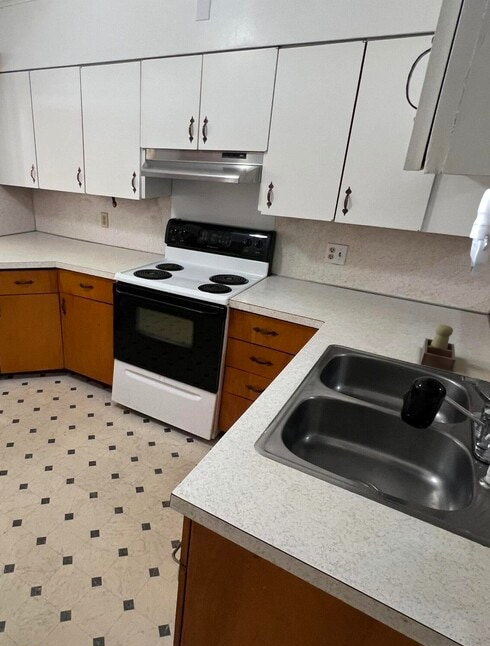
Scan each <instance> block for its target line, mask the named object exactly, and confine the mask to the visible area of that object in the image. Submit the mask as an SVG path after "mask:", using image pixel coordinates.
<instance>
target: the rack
mask: <svg viewBox="0 0 490 646" xmlns="http://www.w3.org/2000/svg"><path fill="white" fill-rule="evenodd" d="M432 341H433V339H431V338H424V342H423V345H422V348H421V357H420V366H425V367H429V368H433V369H437V370H442V371H446V372H450V373H452V372H453V369H454V366H455V363H456V350H455V344H454V343H451V342H448V347H447V350H446V349H441V348H437V347H432V346H430V345H431V343H432Z"/></svg>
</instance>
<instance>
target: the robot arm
mask: <svg viewBox="0 0 490 646" xmlns="http://www.w3.org/2000/svg"><path fill="white" fill-rule="evenodd" d="M469 233H470V234H469V238H470V239H472V242H471V248H470V252H469V253H470V254H469V255H470V258H471V263H470V267H469V272H471V273H470V275H471V276H472V277H478V275H479V272H480V270H481V268H482V266H486V265H487V262H488V261H489V257H490V187H488V188H487V189H486V190H485V191H484V193H483V195H482V198H481V200H480V203H479V205H478V208H477V216H476V219H475V220H474V222H473V224H472V228H471V231H470V232H469Z"/></svg>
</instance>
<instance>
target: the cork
mask: <svg viewBox="0 0 490 646" xmlns="http://www.w3.org/2000/svg"><path fill="white" fill-rule="evenodd" d="M434 332H435V335H434V337H433V339H432V340H433V341H432V343H431V345H430V346H432V347H437V348H441V349H446V350H447V347H448V343H449V341H450V337H451V336H452V334H453V332H454V329H453V328H452V326H450V325H446V324H438V325H436V327H435V331H434Z"/></svg>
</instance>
